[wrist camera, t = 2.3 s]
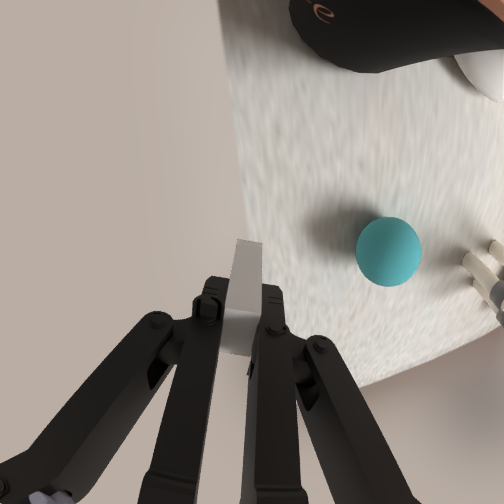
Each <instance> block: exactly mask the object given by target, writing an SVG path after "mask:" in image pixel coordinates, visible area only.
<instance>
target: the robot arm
mask: <svg viewBox="0 0 504 504" xmlns="http://www.w3.org/2000/svg"><path fill="white" fill-rule="evenodd" d="M283 304H284V303H283V292H282V291H281V289H280V288H279V286H275V285H269V284H262V243H258V242H253V241H247V240H241V239H238V240H237V245H236V250H235V255H234V260H233V265H232V270H231V276H230V279H228V278H222V277H216V276H211V277H209V278H208V279H207V280H206V282H205V285H204V288H203V291H202V294H201V295H200V296H198V297H196V298H195V299H194V300H193V308H192V316H191V317H189V318H187V319H182V320H173V319H172V317H171V316H170V315H168V314H167V313H165V312H161V311H153V312H150V313H148V314H146V315H145V316H144V317H143V318H142V319H141V320H140V321H139V322H138V323H137V324H136V325H135V326H134V327H133V329H132V330H131V331H130V332H129V333H128V334H127V335H126V336H125V337H124V338H123V339H122V340H121V342H120V343H119V344H118V345H117V346H116V347H115V348H114V349H113V350H112V352H111V353H110V354H109V355H108V356H107V357H106V358H105V359H104V361H102V363H101V364H100V365H99V366H98V367H97V368H96V369H95V370H94V372H93V373H92V374H91V375H90V376H89V377H88V378H87V380H86V381H85V382H84V383H83V384H82V385H81V386H80V388H79V389H78V390H77V391H76V392H75V393H74V394H73V396H72V397H71V398H70V399H69V400H68V401H67V403H66V404H65V405H64V406H63V407H62V408H61V410H60V411H59V412H58V413H57V415H56V416H55V417H54V418H53V419H52V420H51V422H50V423H49V424H48V425H47V427H46V428H45V429H44V430H43V431H42V433H41V434H40V435H39V436H38V438H37V439H36V440H35V441H34V443H33V444H32V445H31V446H30V448H29V449H28V450H26V451H25V452H22V453H20V454H18V455H17V456H15V457H13V458H11V459H9V460H7V461H5V462H3V463H0V503H1V504H76V503H78V502H79V501H80V500H81V499H83V498H84V497H85V496H86V495H87V494H88V493H89V491H90V490H91V489H92V487H93V486H94V485H95V483H96V482H97V480H98V479H99V477H100V476H101V474H102V473H103V471H104V470H105V468H106V467H107V465H108V464H109V462H110V461H111V459H112V458H113V456H114V455H115V453H116V452H117V450H118V449H119V447H120V445H121V444H122V443H123V441H124V440H125V438H126V437H127V435H128V434H129V432H130V431H131V429H132V428H133V426H134V425H135V423H136V422H137V420H138V419H139V417H140V416H141V414H142V413H143V411H144V410H145V408H146V407H147V405H148V404H149V402H150V401H151V399H152V398H153V396H154V394H155V393H156V392H157V390H158V389H159V387H160V386H161V384H162V383H163V381H164V380H165V378H166V377H167V375H168V374H169V372H170V371H171V369H172V368H173V366H174V365H175V364H177V368H176V371H175V375H174V378H173V382H172V385H171V388H170V392H169V396H168V399H167V403H166V407H165V410H164V414H163V418H162V422H161V425H160V429H159V433H158V437H157V441H156V445H155V449H154V453H153V457H152V461H151V465H150V468H149V470H148V471H147V472H146V474H145V476H144V478H143V481H142V485H141V489H140V494H139V498H138V503H137V504H196V503H197V494H198V486H199V480H200V473H201V465H202V459H203V451H204V445H205V438H206V432H207V425H208V418H209V412H210V405H211V399H212V393H213V386H214V380H215V374H216V368H217V362H218V354H219V352H223V353H229V354H235V355H243V356H249V357H250V356H251V361H250V365H249V368H248V372H247V375H249V379H248V395H247V410H246V426H245V442H244V456H243V473H242V486H241V499H240V503H239V504H309V502H308V496H307V493H306V491H305V490H304V489H303V488H302V486H301V476H300V456H299V439H298V424H297V408H296V400H297V403H298V406H299V409H300V411H301V414H302V417H303V419H304V422H305V425H306V427H307V430H308V433H309V436H310V438H311V441H312V444H313V446H314V449H315V451H316V454H317V457H318V460H319V462H320V465H321V468H322V470H323V473H324V476H325V478H326V481H327V484H328V486H329V489H330V492H331V494H332V497H333V499H334V502H335V504H421V503H420V502H419V501H418V500H417V499H415V497H413V495H412V493H411V491H410V488H409V486H408V484H407V482H406V480H405V478H404V476H403V475H402V472H401V470H400V468H399V466H398V464H397V462H396V460H395V458H394V456H393V454H392V452H391V450H390V448H389V446H388V444H387V442H386V440H385V438H384V436H383V435H382V432H381V430H380V428H379V426H378V424H377V422H376V421H375V419H374V417H373V415H372V413H371V411H370V409H369V407H368V405H367V403H366V402H365V400H364V398H363V396H362V394H361V392H360V391H359V388H358V386H357V385H356V383H355V381H354V379H353V377H352V375H351V373H350V372H349V370H348V368H347V366H346V364H345V362H344V361H343V359H342V357H341V355H340V353H339V352H338V350H337V348H336V346H335V344H334V343H333V342H332V341H331V340H330V339H329V338H327V337H325V336H322V335H314V336H311V337H309V338H308V339H307V340H305V339H302V338H300V337H297V336H295V335H293V334H292V333H291V332H290V330H289V328H288V326H287V325H286V324H285V313H284V305H283ZM251 352H252V353H251Z"/></svg>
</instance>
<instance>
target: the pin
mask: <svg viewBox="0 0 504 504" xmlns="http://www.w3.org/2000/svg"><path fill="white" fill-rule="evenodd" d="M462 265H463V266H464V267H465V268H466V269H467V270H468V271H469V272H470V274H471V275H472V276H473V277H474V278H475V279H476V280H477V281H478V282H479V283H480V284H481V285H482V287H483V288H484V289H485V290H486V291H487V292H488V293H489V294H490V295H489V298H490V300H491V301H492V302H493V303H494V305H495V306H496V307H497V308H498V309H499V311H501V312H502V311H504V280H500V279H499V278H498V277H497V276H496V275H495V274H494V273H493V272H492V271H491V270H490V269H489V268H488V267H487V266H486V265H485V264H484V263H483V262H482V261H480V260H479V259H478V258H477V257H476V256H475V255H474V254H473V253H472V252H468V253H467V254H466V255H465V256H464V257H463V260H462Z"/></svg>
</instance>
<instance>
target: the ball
mask: <svg viewBox="0 0 504 504" xmlns="http://www.w3.org/2000/svg"><path fill="white" fill-rule="evenodd" d="M420 258H421V245H420V241H419V238H418V236H417V234H416V232H415V231H414V229H413V228H412V227H411V226H410V225H409V224H408V223H406V222H405V221H403V220H401V219H398V218H394V217H383V218H379V219H376V220H374V221H372V222H371V223H369V224H368V225H367V226H366V227H365V228H364V229H363V231H362V232H361V234H360V236H359V238H358V240H357V244H356V259H357V263H358V266H359V268H360V270H361V271H362V273H363V274H364V275H365V277H366V278H367V279H369V280H370V281H372V282H373V283H375V284H377V285H380V286H387V287H391V286H396V285H400V284H402V283H404V282H405V281H407V280H408V279H409V278H410V277H411V276H412V275H413V274H414V273H415V271H416V270H417V268H418V265H419V263H420Z"/></svg>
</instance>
